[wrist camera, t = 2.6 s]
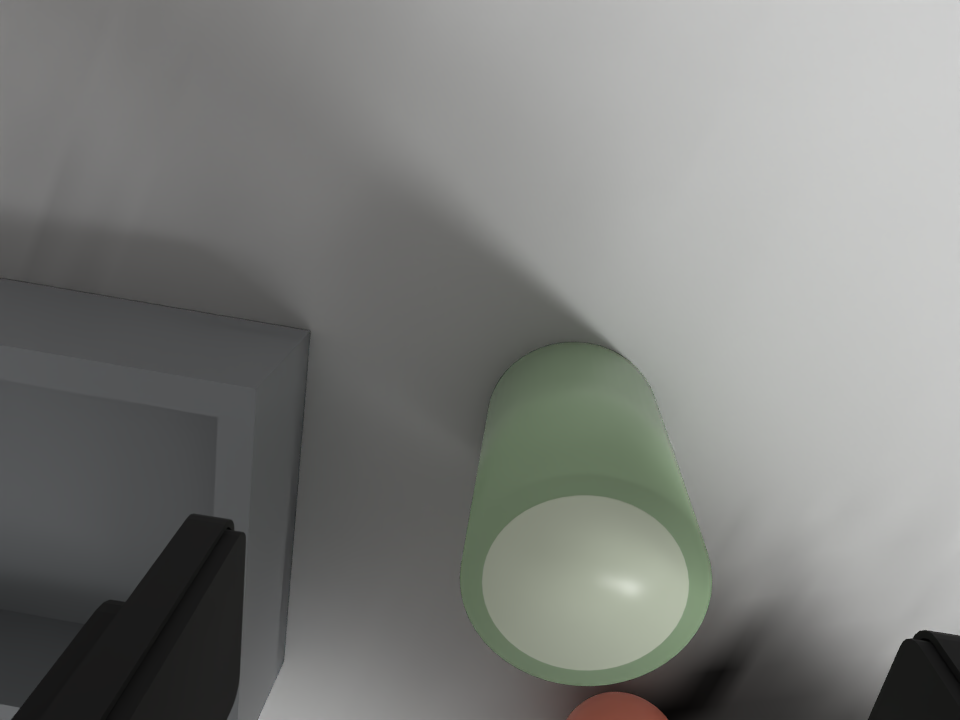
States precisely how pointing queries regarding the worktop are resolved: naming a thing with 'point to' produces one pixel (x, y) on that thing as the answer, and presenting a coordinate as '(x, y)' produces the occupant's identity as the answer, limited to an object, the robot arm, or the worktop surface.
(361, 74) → the worktop surface
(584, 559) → the cucumber chunk
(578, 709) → the tomato ball
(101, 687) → the robot arm
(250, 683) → the bin
